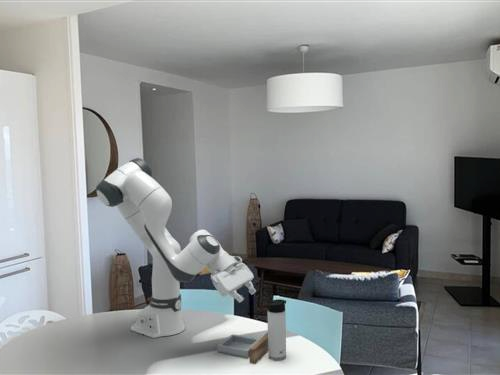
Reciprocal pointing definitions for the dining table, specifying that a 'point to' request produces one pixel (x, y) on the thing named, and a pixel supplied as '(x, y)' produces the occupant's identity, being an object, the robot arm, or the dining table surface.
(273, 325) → the travel mug
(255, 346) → the walnut rail
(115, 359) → the dining table surface
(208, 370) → the dining table surface
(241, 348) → the slate tray
